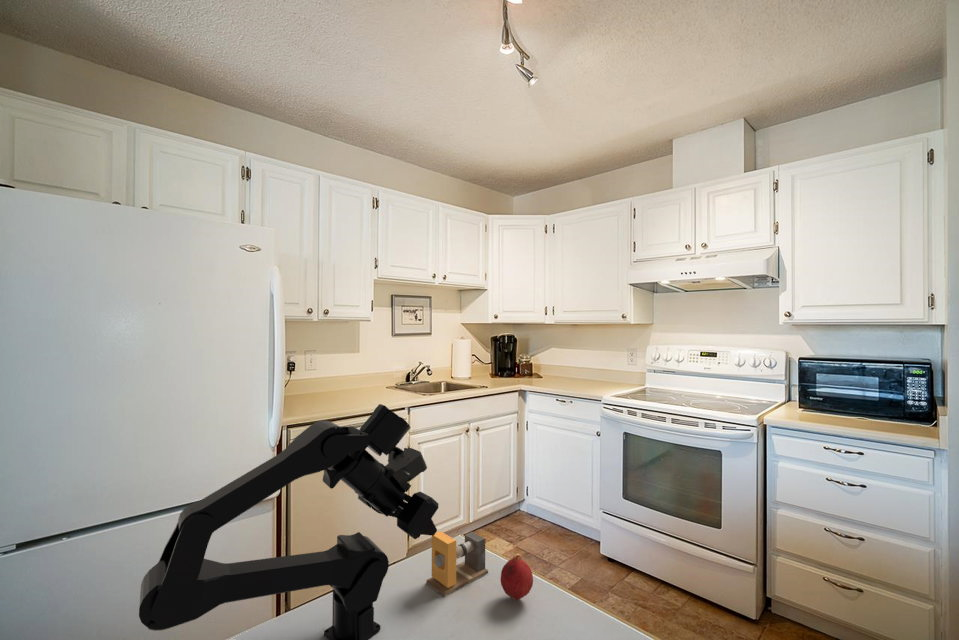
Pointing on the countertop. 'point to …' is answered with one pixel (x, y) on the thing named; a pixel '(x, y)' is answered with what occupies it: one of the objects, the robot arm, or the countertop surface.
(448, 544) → the collar
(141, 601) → the robot arm
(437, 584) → the pipe stand
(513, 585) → the onion
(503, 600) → the countertop surface
